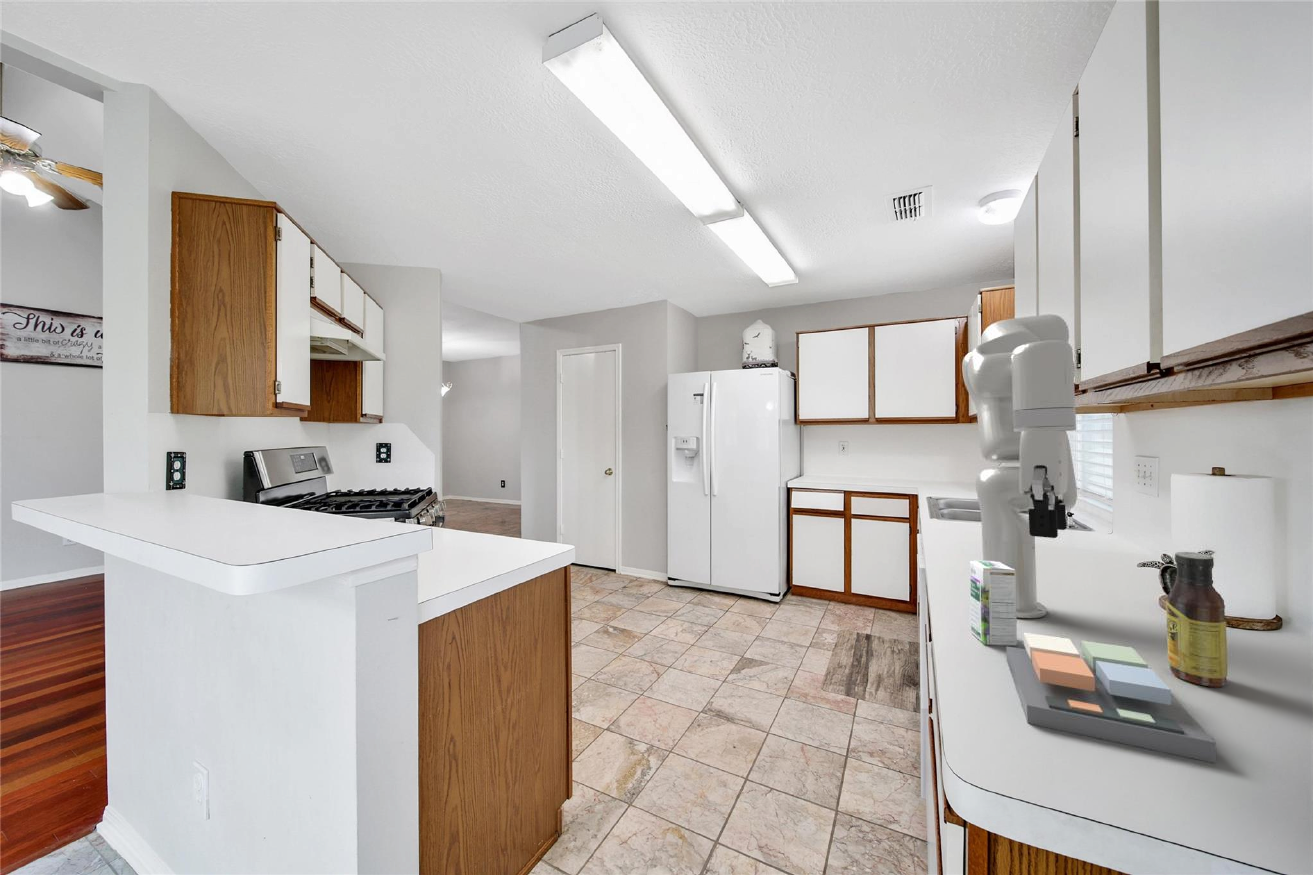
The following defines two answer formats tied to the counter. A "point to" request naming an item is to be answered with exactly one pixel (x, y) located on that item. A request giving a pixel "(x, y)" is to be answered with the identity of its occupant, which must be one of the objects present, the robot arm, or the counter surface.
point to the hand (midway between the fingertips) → (1048, 532)
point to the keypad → (1108, 713)
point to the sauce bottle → (1196, 623)
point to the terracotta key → (1063, 671)
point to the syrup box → (993, 603)
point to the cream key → (1049, 645)
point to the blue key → (1133, 682)
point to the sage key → (1111, 654)
